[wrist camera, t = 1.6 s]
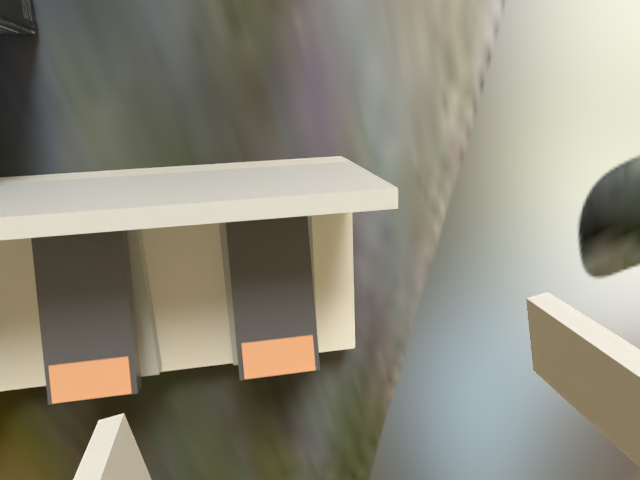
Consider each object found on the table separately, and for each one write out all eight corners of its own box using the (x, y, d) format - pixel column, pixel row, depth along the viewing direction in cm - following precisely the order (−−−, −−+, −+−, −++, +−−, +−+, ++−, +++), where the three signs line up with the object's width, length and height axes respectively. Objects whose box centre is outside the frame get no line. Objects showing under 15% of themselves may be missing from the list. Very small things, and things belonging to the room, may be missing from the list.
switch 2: (239, 374, 32) (239, 381, 30) (226, 218, 31) (225, 217, 30) (317, 365, 32) (320, 371, 31) (304, 211, 32) (307, 211, 31)
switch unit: (-124, 384, 35) (-317, 541, 23) (-191, 189, 31) (-470, 252, 19) (346, 330, 40) (396, 434, 28) (341, 156, 36) (398, 188, 24)
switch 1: (55, 398, 30) (46, 406, 29) (39, 232, 30) (29, 232, 28) (141, 387, 31) (137, 394, 29) (126, 225, 30) (120, 225, 29)
